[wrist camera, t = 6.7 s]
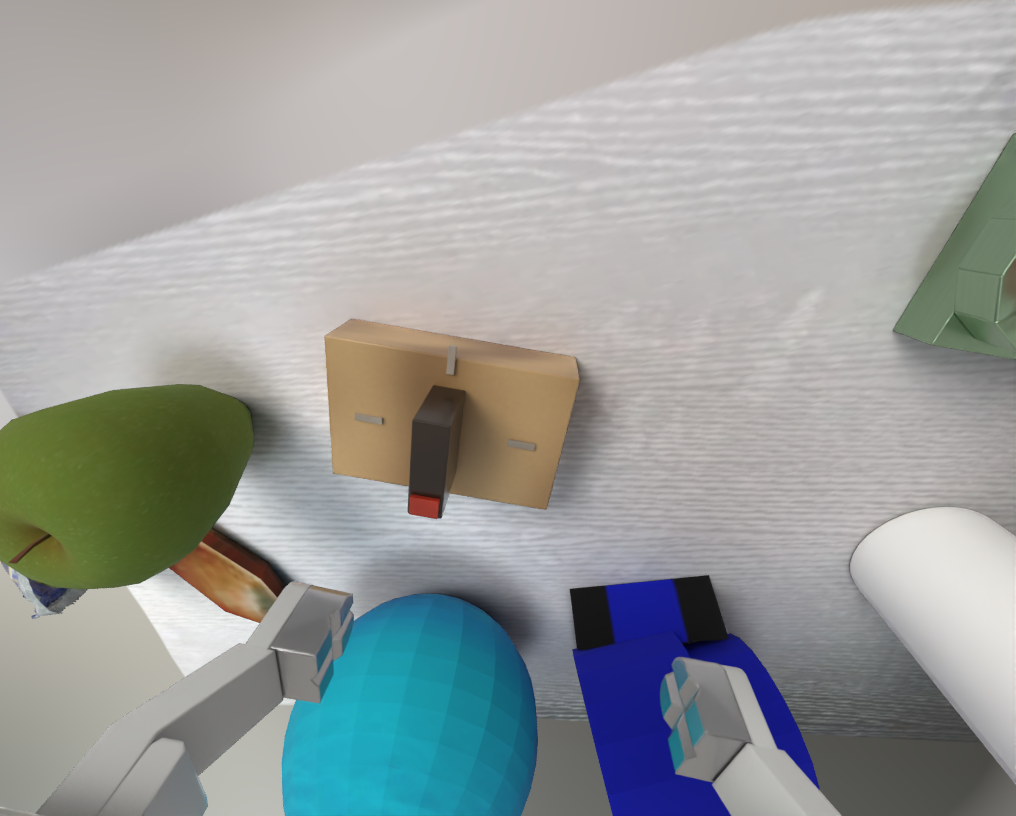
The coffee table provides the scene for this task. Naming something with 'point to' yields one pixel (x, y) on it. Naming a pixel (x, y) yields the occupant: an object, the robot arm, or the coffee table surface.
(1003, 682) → the bottle
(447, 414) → the knob
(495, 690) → the decorative orb
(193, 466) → the apple
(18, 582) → the snack package
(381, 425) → the panel
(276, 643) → the robot arm
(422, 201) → the coffee table surface
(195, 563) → the wooden boat shaped bowl
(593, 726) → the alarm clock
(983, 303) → the green lamp base
